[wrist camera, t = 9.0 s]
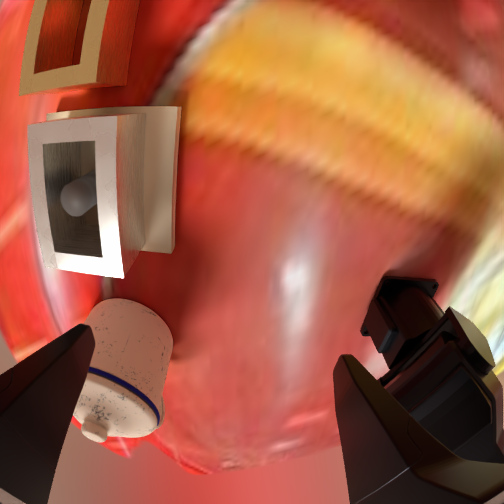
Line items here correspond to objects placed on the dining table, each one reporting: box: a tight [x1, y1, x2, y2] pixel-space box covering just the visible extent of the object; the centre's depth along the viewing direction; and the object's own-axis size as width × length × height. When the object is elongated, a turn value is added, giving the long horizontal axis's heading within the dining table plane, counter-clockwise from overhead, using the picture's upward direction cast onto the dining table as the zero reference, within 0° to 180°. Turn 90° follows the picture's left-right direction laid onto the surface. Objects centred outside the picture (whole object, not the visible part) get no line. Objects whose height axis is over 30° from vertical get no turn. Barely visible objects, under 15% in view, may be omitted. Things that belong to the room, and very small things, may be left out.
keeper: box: [46, 106, 182, 254], centre depth 16 cm, size 10×10×5 cm
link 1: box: [19, 0, 140, 96], centre depth 11 cm, size 9×6×4 cm, turn 173°
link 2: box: [28, 113, 146, 278], centre depth 15 cm, size 9×6×4 cm, turn 173°
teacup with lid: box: [73, 298, 173, 442], centre depth 21 cm, size 12×9×12 cm
